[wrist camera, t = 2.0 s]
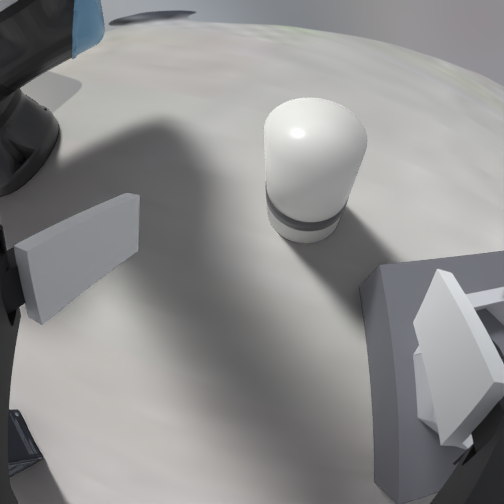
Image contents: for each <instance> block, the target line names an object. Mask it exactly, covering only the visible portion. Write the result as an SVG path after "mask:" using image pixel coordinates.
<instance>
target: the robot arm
mask: <svg viewBox="0 0 504 504" xmlns="http://www.w3.org/2000/svg"><path fill="white" fill-rule="evenodd" d="M104 32H105V27H104V19H103V12H102V6H101V0H0V196H3V195H7V194H9V193H11V192H13V191H15V190H16V189H18V188H19V187H21V186H22V185H23V184H25V183H26V182H27V181H28V180H29V179H30V178H31V177H32V176H33V175H34V174H35V173H36V172H37V171H38V169H39V168H40V167H41V166H42V164H43V163H44V162H45V160H46V159H47V157H48V156H49V154H50V152H51V151H52V149H53V147H54V144H55V142H56V139H57V136H58V131H59V125H58V121H57V120H56V118H55V117H54V115H53V114H52V113H51V111H49V109H47V108H46V107H44V106H41V105H39V104H38V103H37V102H36V101H34V100H33V99H31V98H30V97H28V96H27V95H25V94H24V93H23V92H22V91H21V90H20V88H21V87H22V86H24V85H25V84H27V83H28V82H30V81H31V80H33V79H35V78H36V77H38V76H40V75H41V74H43V73H45V72H47V71H48V70H50V69H52V68H54V67H55V66H57V65H59V64H61V63H63V62H65V61H66V60H68V59H70V58H72V59H74V58H76V56H77V55H78V54H80V53H82V52H84V51H86V50H88V49H89V48H91V47H93V46H95V45H97V44H98V43H99V42H100V41H101V40H102V38H103V36H104ZM139 207H140V195H136V194H131V193H124V194H122V195H119V196H117V197H114V198H112V199H110V200H107V201H105V202H103V203H100V204H98V205H96V206H94V207H91V208H89V209H87V210H85V211H82V212H80V213H78V214H76V215H74V216H72V217H69V218H67V219H65V220H63V221H61V222H59V223H57V224H55V225H53V226H51V227H48V228H46V229H44V230H42V231H40V232H38V233H36V234H34V235H32V236H31V237H29V238H27V239H25V240H23V241H21V242H19V243H17V244H15V245H13V246H14V247H13V248H12V249H10V250H8V251H7V250H6V244H5V238H4V231H3V226H2V225H0V504H18V501H17V499H16V497H15V495H14V493H13V491H12V489H11V486H10V481H9V468H8V414H9V397H10V385H11V376H12V367H13V359H14V352H15V346H16V340H17V334H18V328H19V323H20V318H21V313H20V309H19V307H20V306H21V305H22V304H24V303H25V305H26V309H27V312H28V316H29V317H30V318H31V319H33V320H35V321H36V322H38V323H40V324H42V325H43V324H44V323H45V322H46V321H47V320H49V319H50V318H51V317H52V316H54V315H55V314H56V313H57V312H58V311H60V310H61V309H62V308H63V307H65V306H66V305H67V304H69V303H70V302H71V301H72V300H74V299H75V298H76V297H77V296H79V295H80V294H81V293H83V292H84V291H85V290H86V289H88V288H89V287H90V286H92V285H93V284H94V283H96V282H97V281H98V280H99V279H101V278H102V277H103V276H105V275H106V274H107V273H109V272H110V271H111V270H113V269H114V268H115V267H117V266H118V265H120V264H121V263H122V262H124V261H125V260H126V259H128V258H129V257H130V256H132V255H133V254H135V253H136V252H137V251H139ZM413 325H414V328H415V332H416V335H417V339H418V343H419V346H420V350H421V354H422V358H423V362H424V366H425V370H426V374H427V378H428V382H429V387H430V391H431V396H432V401H433V405H434V411H435V416H436V421H437V427H438V432H439V438H440V445H442V446H460V445H461V444H462V443H463V442H464V441H465V440H466V439H467V438H468V437H469V436H470V435H472V439H473V444H472V445H471V446H470V447H469V448H468V449H467V450H466V451H465V452H464V453H463V454H462V455H461V456H460V457H459V458H458V459H457V460H456V461H455V462H454V463H453V464H454V465H456V464H457V463H458V462H459V463H458V465H457V466H456V468H455V469H454V471H453V472H452V474H451V475H450V477H449V478H448V480H447V481H446V483H445V484H444V485H443V487H442V488H441V490H440V491H439V492H438V494H437V495H436V496H435V498H434V499H433V500H432V502H431V503H430V504H504V355H503V354H502V352H501V350H500V348H499V346H498V345H497V344H496V343H495V342H494V341H493V340H492V339H491V338H490V336H489V334H488V333H487V331H486V329H485V327H484V325H483V323H482V322H481V320H480V318H479V316H478V315H477V313H476V311H475V309H474V308H473V306H472V304H471V303H470V301H469V299H468V298H467V296H466V294H465V293H464V291H463V290H462V288H461V286H460V285H459V283H458V282H457V280H456V279H455V277H454V275H453V274H452V273H451V272H447V271H444V270H440V269H437V270H436V272H435V275H434V277H433V279H432V282H431V284H430V287H429V289H428V291H427V293H426V296H425V298H424V300H423V302H422V305H421V307H420V309H419V311H418V313H417V315H416V317H415V319H414V322H413Z"/></svg>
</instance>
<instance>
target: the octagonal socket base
mask: <svg viewBox="0 0 504 504" xmlns="http://www.w3.org/2000/svg"><path fill="white" fill-rule="evenodd" d="M437 269H440V270H444V271H447V272H451V273H452V274H453V275H454V277H455V279H456V280H457V282H458V283H459V285H460V286H461V288H462V290H463V291H464V293H465V294H466V296H467V298H468V299H469V301H470V303H471V304H472V306H473V308H474V309H475V311H476V313H477V315H478V316H479V318H480V320H481V322H482V323H483V325H484V327H485V329H486V331H487V333H488V334H489V336H490V338H491V339H492V340H493V341H494V342H495V343H496V344H497V345H498V346H499V348H500V350H501V352H502V354H503V355H504V251H498V252H490V253H481V254H473V255H465V256H456V257H447V258H438V259H429V260H420V261H411V262H401V263H391V264H381V265H379V266H378V267H377V268H376V269H375V270H374V271H373V273H372V274H371V275H370V276H369V277H368V278H367V279H366V280H365V281H364V282H363V283H362V284H361V285H360V286H359V290H360V296H361V303H362V311H363V318H364V326H365V334H366V342H367V352H368V361H369V372H370V384H371V397H372V413H373V433H374V482H375V483H376V484H377V485H378V486H379V487H380V488H381V489H382V490H383V491H384V492H385V493H386V494H387V495H388V496H389V497H390V498H391V499H392V500H393V501H394V502H395V503H396V504H403V503H406V502H410V501H413V500H416V499H419V498H422V497H425V496H428V495H431V494H433V493H436V492H439V491H440V490H441V488H442V487H443V485H444V484H445V483H446V481H447V480H448V478H449V477H450V475H451V474H452V472H453V471H454V469H455V468H456V466H457V465H458V463H459V462H458V463H457V464H456V465H454V464H453V463H454V462H455V461H456V460H457V459H458V458H459V457H460V456H461V455H462V454H463V453H464V452H465V451H466V450H467V449H468V448H469V447H470V446H471V445H472V444H473V439H472V435H470V436H469V437H468V438H467V439H466V440H465V441H464V442H463V443H462V444H461V445H460V446H442V445H440V438H439V432H438V427H437V421H436V416H435V411H434V405H433V401H432V396H431V391H430V387H429V382H428V378H427V374H426V370H425V366H424V362H423V358H422V354H421V350H420V346H419V343H418V339H417V335H416V332H415V328H414V325H413V322H414V319H415V317H416V315H417V313H418V311H419V309H420V307H421V305H422V302H423V300H424V298H425V296H426V293H427V291H428V289H429V287H430V284H431V282H432V279H433V277H434V275H435V272H436V270H437Z"/></svg>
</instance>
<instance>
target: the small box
mask: <svg viewBox="0 0 504 504" xmlns="http://www.w3.org/2000/svg"><path fill="white" fill-rule="evenodd" d="M39 460H42V456H41V454H40V452H39V450H38V449H37V447H36V445H35V443H34V441H33V439H32V437H31V435H30V433H29V431H28V429H27V427H26V425H25V422H24V420H23V418H22V416H21V414H20V412H19V410H9V414H8V468H9V477H11V476H13V475H14V474H16V473H18V472H20V471H22V470H24V469H26V468H27V467H29V466H31V465H33V464H34V463H36V462H38V461H39Z"/></svg>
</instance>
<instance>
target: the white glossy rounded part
mask: <svg viewBox="0 0 504 504" xmlns="http://www.w3.org/2000/svg"><path fill="white" fill-rule="evenodd" d="M264 144H265V167H266V200H267V213H268V218H269V221H270V223H271V225H272V226H273V228H274V229H275V230H276V231H277V232H278V233H279V234H280V235H281V236H283V237H284V238H286V239H288V240H290V241H293V242H297V243H314V242H318V241H321V240H323V239H325V238H326V237H328V236H329V235H330V234H331V233H332V232H333V231H334V230H335V228H336V227H337V225H338V222H339V220H340V217H341V215H342V213H343V211H344V209H345V206H346V204H347V201H348V198H349V194H350V192H351V189H352V186H353V184H354V181H355V178H356V176H357V173H358V170H359V167H360V165H361V162H362V159H363V156H364V154H365V151H366V147H367V134H366V131H365V128H364V126H363V125H362V123H361V121H360V120H359V119H358V118H357V117H356V116H355V115H354V114H353V113H352V112H351V111H350V110H348V109H347V108H345V107H343V106H341V105H339V104H337V103H335V102H332V101H329V100H325V99H320V98H299V99H294V100H290V101H287V102H285V103H283V104H281V105H279V106H278V107H276V108H275V109H274V110H273V111H272V112H271V113H270V114H269V116H268V117H267V119H266V122H265V125H264Z"/></svg>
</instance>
